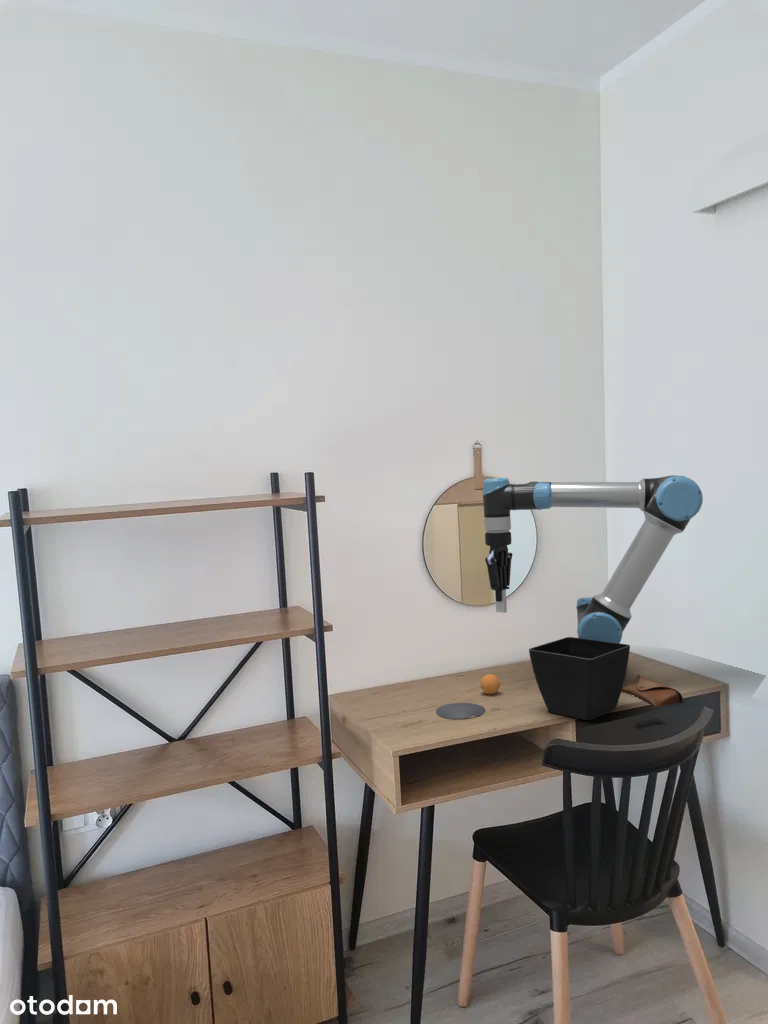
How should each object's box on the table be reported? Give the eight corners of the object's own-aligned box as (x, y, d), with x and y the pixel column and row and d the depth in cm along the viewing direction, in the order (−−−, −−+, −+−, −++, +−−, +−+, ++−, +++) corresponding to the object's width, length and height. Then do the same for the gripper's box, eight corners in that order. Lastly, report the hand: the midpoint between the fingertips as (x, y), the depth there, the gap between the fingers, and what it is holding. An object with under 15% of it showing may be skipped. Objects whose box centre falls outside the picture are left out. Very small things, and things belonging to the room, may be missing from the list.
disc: (451, 701, 211) (451, 700, 211) (493, 707, 203) (493, 706, 203) (426, 714, 200) (426, 714, 200) (469, 722, 192) (469, 721, 192)
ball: (486, 689, 219) (485, 671, 219) (503, 692, 216) (502, 673, 216) (477, 695, 215) (476, 675, 214) (494, 697, 211) (493, 678, 211)
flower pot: (571, 695, 210) (568, 634, 209) (634, 708, 196) (631, 643, 195) (529, 713, 197) (526, 648, 196) (594, 728, 183) (591, 659, 182)
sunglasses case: (614, 689, 212) (623, 667, 213) (633, 698, 215) (642, 677, 215) (656, 707, 195) (666, 683, 196) (676, 717, 197) (686, 694, 198)
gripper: (496, 529, 228) (500, 607, 229) (475, 533, 217) (479, 615, 219) (519, 529, 223) (523, 608, 225) (499, 533, 213) (502, 617, 214)
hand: (501, 611), depth 222 cm, fingers closed
